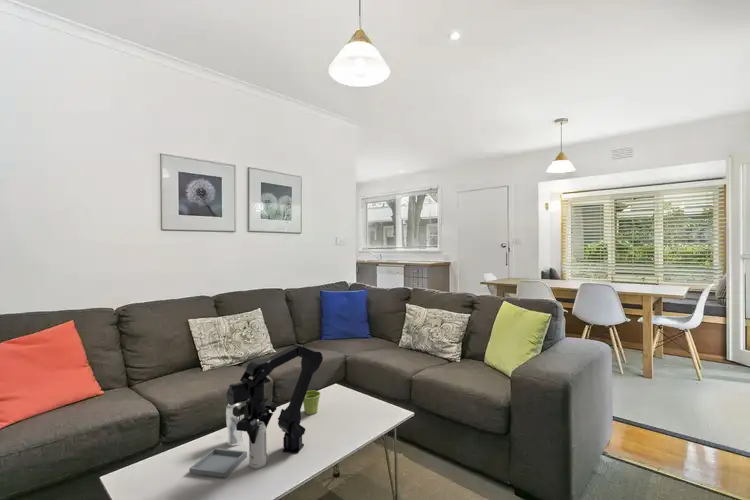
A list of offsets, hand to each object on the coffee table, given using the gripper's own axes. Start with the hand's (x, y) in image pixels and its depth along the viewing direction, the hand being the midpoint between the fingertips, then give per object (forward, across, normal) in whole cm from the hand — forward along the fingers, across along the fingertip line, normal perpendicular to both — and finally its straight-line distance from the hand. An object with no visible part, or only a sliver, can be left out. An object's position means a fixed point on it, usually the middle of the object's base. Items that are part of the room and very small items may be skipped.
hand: (257, 438), depth 138 cm
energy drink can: (+10, 0, 0) cm, 10 cm away
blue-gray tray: (+10, +3, -14) cm, 17 cm away
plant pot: (+10, -46, +2) cm, 47 cm away
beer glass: (+10, -13, -18) cm, 24 cm away
